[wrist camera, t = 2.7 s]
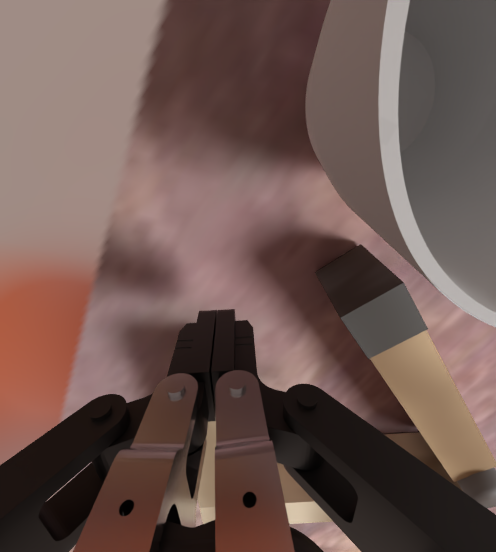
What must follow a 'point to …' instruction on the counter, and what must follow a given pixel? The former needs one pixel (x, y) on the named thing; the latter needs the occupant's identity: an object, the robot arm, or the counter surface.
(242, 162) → the counter surface
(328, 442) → the robot arm
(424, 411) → the leg
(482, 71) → the cup
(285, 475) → the jointed wooden sticks
